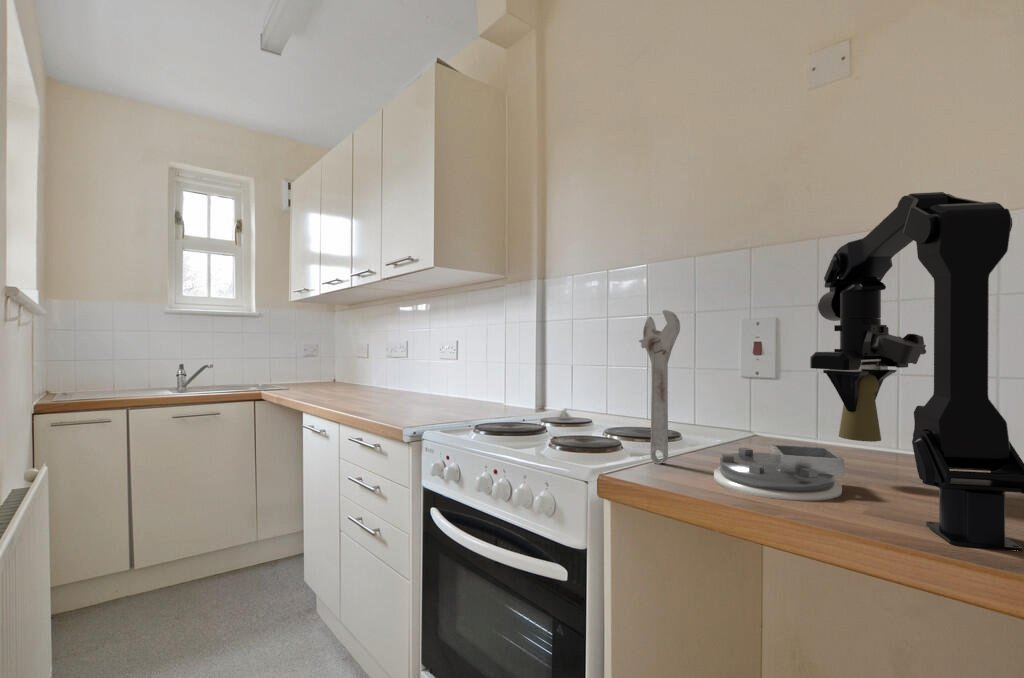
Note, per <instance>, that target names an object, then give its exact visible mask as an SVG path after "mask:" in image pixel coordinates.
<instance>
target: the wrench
mask: <svg viewBox="0 0 1024 678" xmlns="http://www.w3.org/2000/svg"><path fill="white" fill-rule="evenodd" d="M662 314H663V316H664V320H665V321H666V324H665V325H664V327H663V329H662V330H658V329H657V326H656V323H655V320H654V319H653V317H652V316H648V317H646V320H645V322H644V325H643V329H642V339H640V340H638V342H639V343H640V347H641V348H642V349H645V351H646V352H647V354H648V357H649V360H650V363H651V364H650V365H651V367H650V368H651V386H650V388H651V389H650V390H651V393H650V395H651V396H650V400H651V401H650V402H651V403H650V453H649V455H650V459H651V461H652V462H653V463H655V464H657V465H658V464H659V465H660V464H662V463H665V462H667V461H668V458H669V408H668V407H669V390H668V388H669V387H668V386H669V383H668V382H669V381H668V380H669V379H668V376H669V375H668V373H669V372H668V371H669V369H668V368H669V367H668V365H669V362H670V361H669V360H670V357H671V355H672V352H673V351H672V350H673V347H674V345H675V343H676V341H677V338H678V337H679V334H680V331H681V322H680V320H679V318H678V316H677V314H675V313H674V312H673V311H671V310H668V309H664V310H662ZM657 451H660V452H661V454H662V460H660V459H659V458H657V455H656V452H657Z"/></svg>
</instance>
